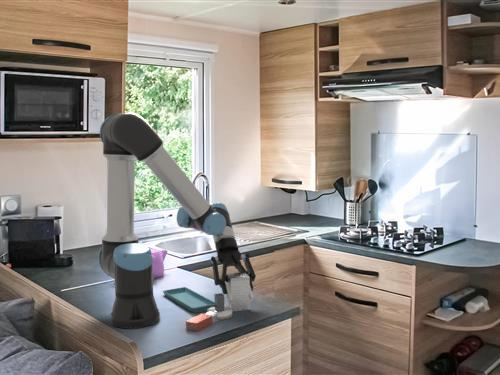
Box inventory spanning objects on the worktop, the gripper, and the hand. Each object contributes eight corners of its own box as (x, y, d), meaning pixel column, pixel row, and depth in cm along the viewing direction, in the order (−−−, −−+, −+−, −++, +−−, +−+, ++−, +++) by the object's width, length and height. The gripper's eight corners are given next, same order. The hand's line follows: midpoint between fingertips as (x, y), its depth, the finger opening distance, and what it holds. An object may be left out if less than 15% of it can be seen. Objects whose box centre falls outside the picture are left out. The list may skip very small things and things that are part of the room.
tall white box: (231, 311, 191) (230, 278, 190) (225, 306, 197) (224, 274, 196) (250, 309, 193) (249, 276, 192) (243, 303, 199) (243, 272, 198)
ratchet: (202, 332, 172) (201, 309, 171) (180, 328, 176) (180, 305, 175) (237, 314, 188) (236, 293, 187) (216, 310, 192) (215, 290, 191)
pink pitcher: (116, 282, 231) (115, 251, 230) (128, 271, 248) (127, 242, 246) (159, 282, 230) (158, 251, 228) (168, 271, 246) (167, 242, 245)
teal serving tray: (162, 296, 212) (162, 289, 211) (185, 292, 216) (185, 285, 216) (192, 315, 189) (192, 308, 189) (218, 310, 194) (217, 303, 193)
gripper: (249, 246, 211) (266, 302, 197) (196, 250, 204) (210, 309, 191) (254, 234, 205) (271, 291, 192) (199, 238, 199) (214, 298, 185)
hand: (240, 300), depth 191 cm, fingers closed on tall white box, 6 cm apart
